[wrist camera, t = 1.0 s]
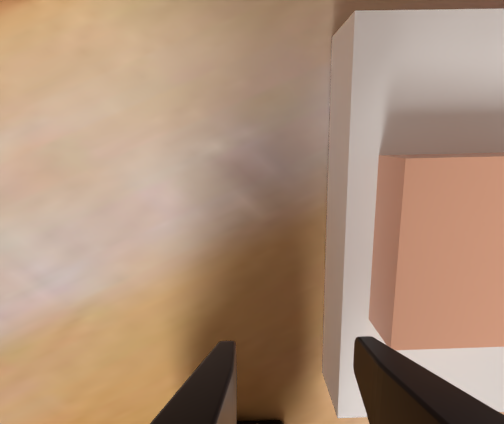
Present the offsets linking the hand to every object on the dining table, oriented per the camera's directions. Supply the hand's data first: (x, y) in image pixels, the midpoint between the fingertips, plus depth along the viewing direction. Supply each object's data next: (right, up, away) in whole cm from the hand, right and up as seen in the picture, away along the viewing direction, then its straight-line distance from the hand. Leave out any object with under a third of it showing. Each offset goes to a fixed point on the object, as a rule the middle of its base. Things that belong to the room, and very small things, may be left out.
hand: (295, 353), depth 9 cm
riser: (+11, +3, +13) cm, 17 cm away
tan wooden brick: (+9, +2, +9) cm, 13 cm away
